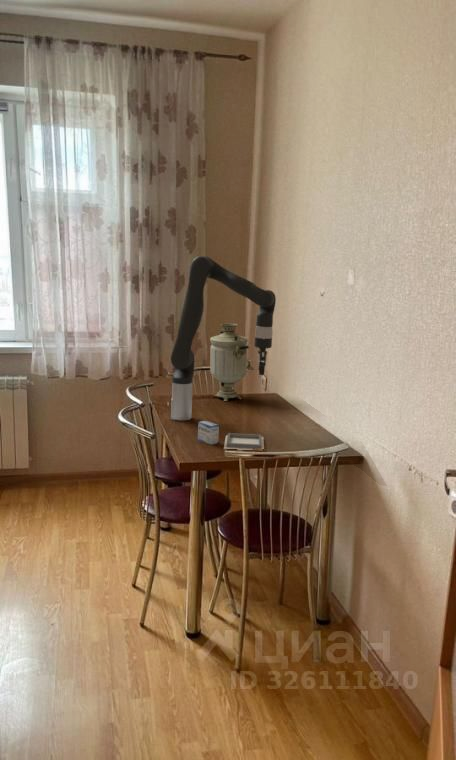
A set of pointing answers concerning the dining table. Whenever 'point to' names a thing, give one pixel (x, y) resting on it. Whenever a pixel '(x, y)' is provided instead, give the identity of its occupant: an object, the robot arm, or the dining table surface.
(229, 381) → the samovar
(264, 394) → the dining table surface
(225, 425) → the dining table surface
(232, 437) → the board
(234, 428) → the dining table surface
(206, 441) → the medicine box
